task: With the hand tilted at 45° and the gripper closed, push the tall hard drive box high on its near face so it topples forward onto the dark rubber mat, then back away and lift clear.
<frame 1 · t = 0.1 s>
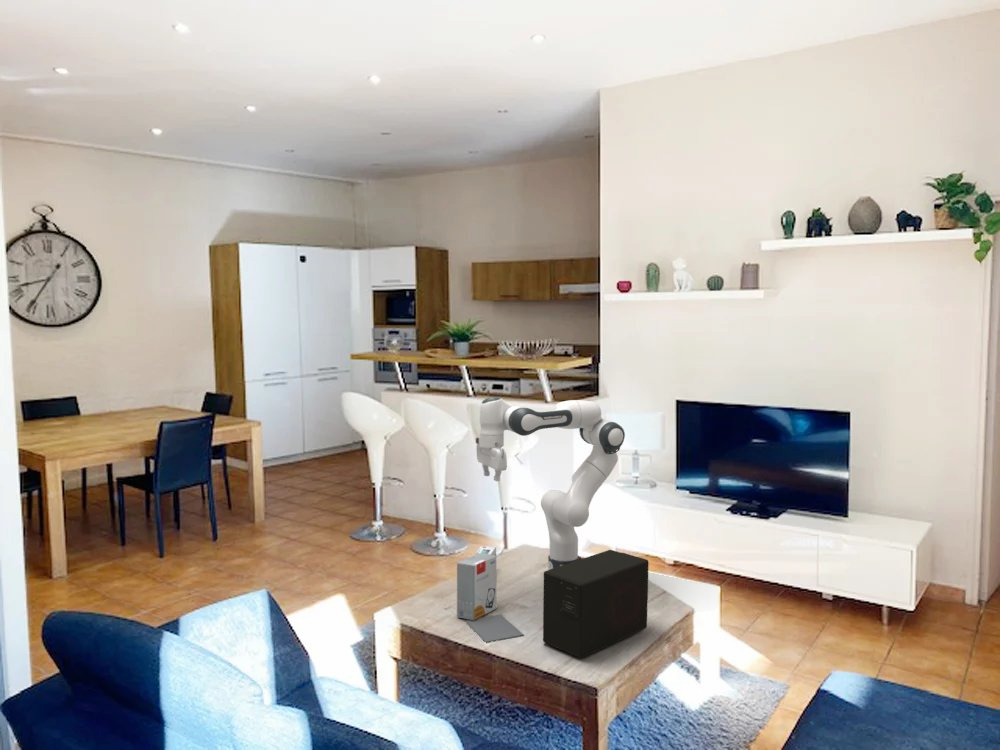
hand: (491, 478, 285), 48 cm above the table, tool pointing down, fingers open, 8 cm apart
hard drive box: (477, 613, 280), on the table, touching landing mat
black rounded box: (594, 636, 262), on the table
light bulb box: (486, 575, 320), on the table
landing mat: (493, 628, 267), on the table
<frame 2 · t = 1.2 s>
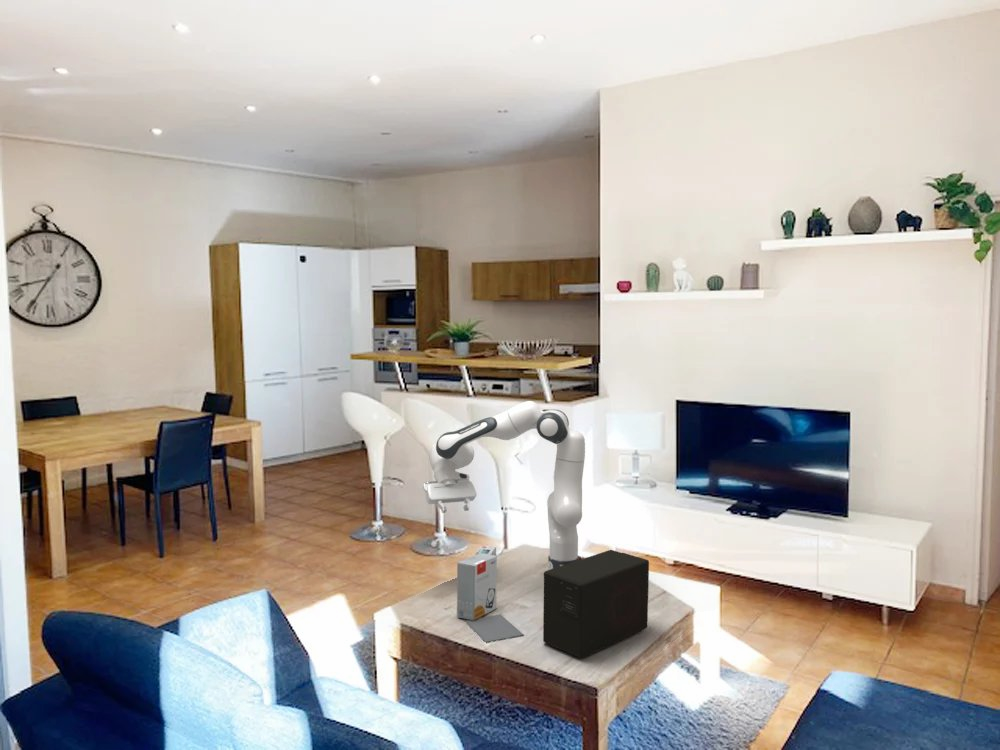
hand: (455, 511, 296), 33 cm above the table, tool tilted 45°, fingers open, 8 cm apart
nothing on the table moved.
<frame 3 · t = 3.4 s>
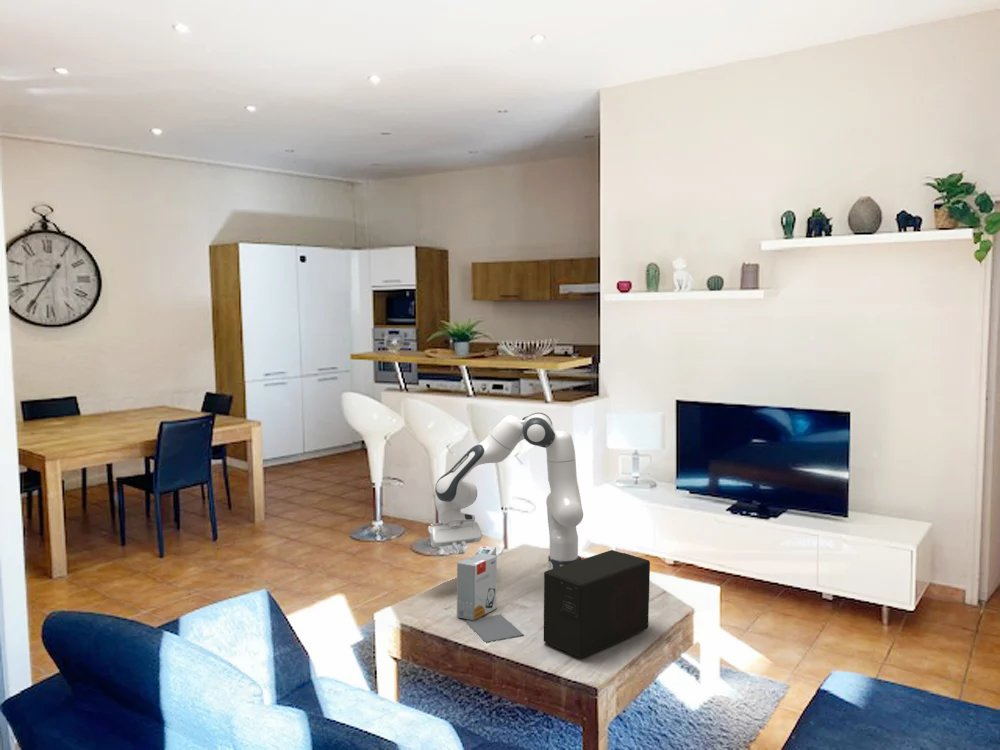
hand: (461, 553, 293), 18 cm above the table, tool tilted 45°, fingers closed
nothing on the table moved.
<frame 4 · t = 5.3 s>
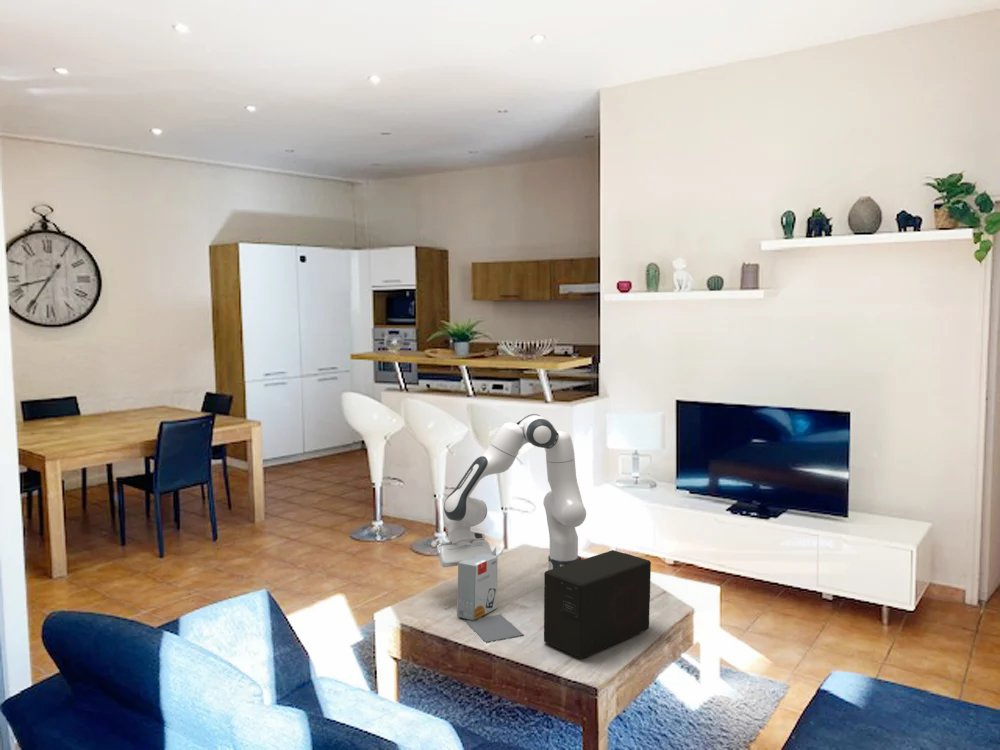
hand: (470, 574, 284), 13 cm above the table, tool tilted 45°, fingers closed
hard drive box: (477, 613, 280), on the table, touching gripper, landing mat
everything else where it was.
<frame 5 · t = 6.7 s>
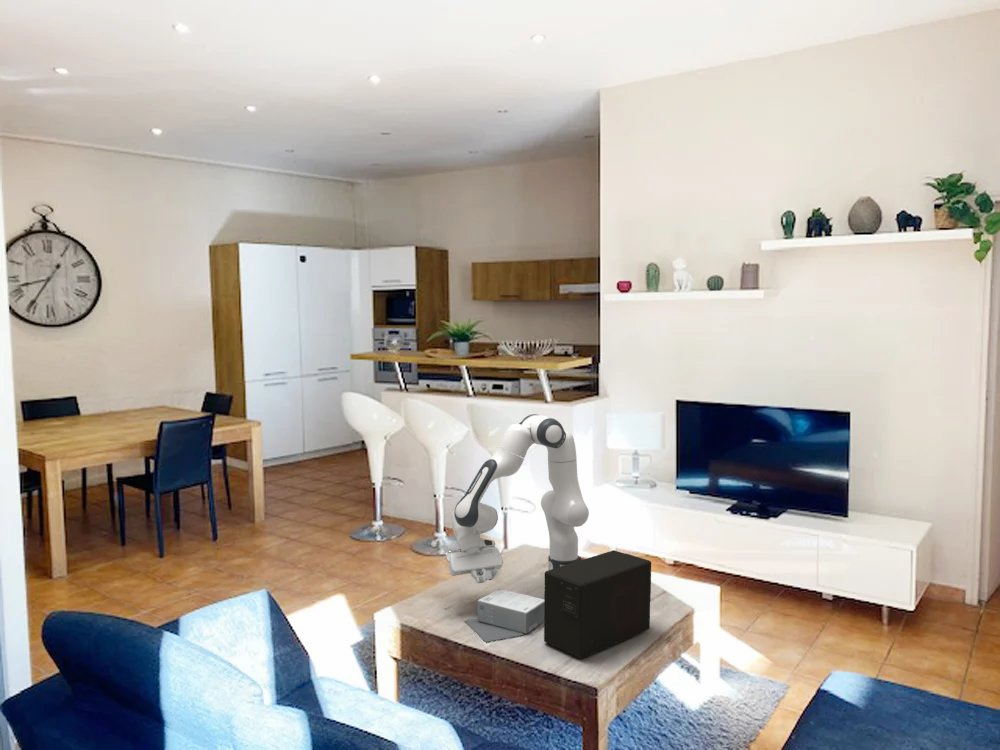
hand: (481, 582, 275), 13 cm above the table, tool tilted 45°, fingers closed
hard drive box: (487, 604, 278), point 4 cm above the table, touching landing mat
everything else where it was.
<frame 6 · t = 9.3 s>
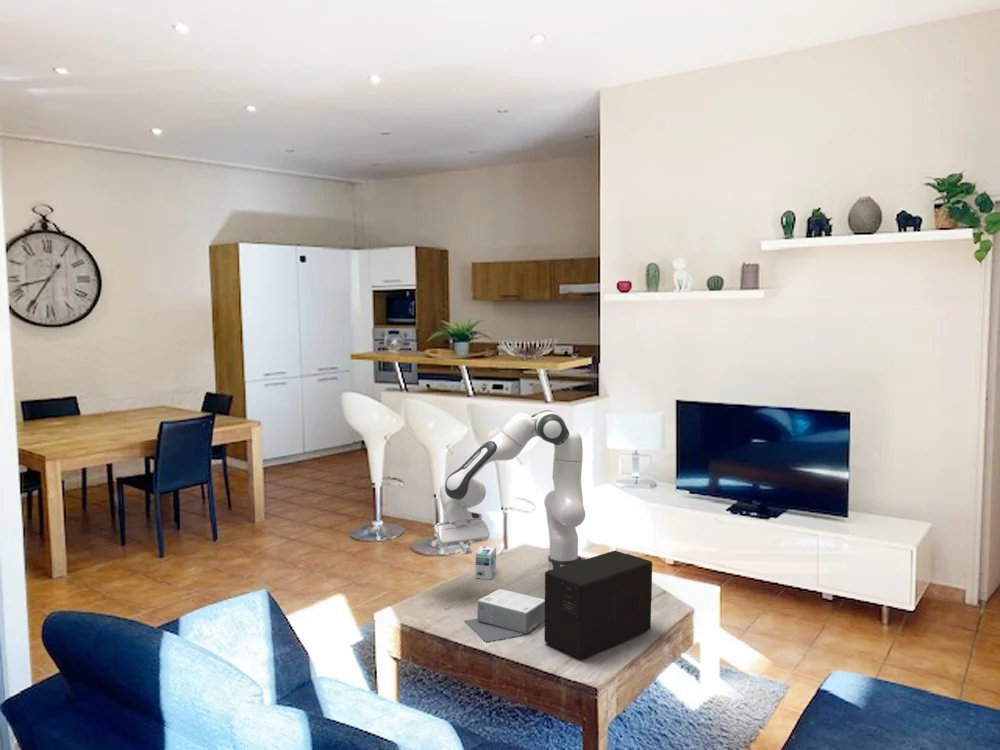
hand: (468, 553, 286), 20 cm above the table, tool tilted 45°, fingers closed
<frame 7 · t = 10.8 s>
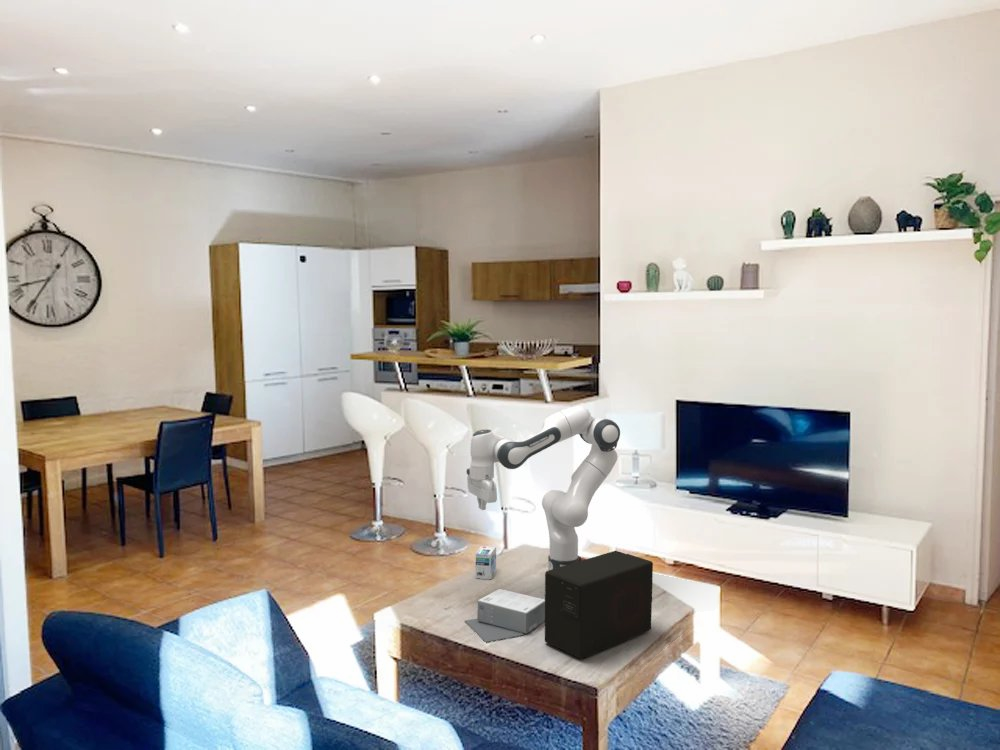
hand: (482, 509, 291), 35 cm above the table, tool pointing down, fingers closed
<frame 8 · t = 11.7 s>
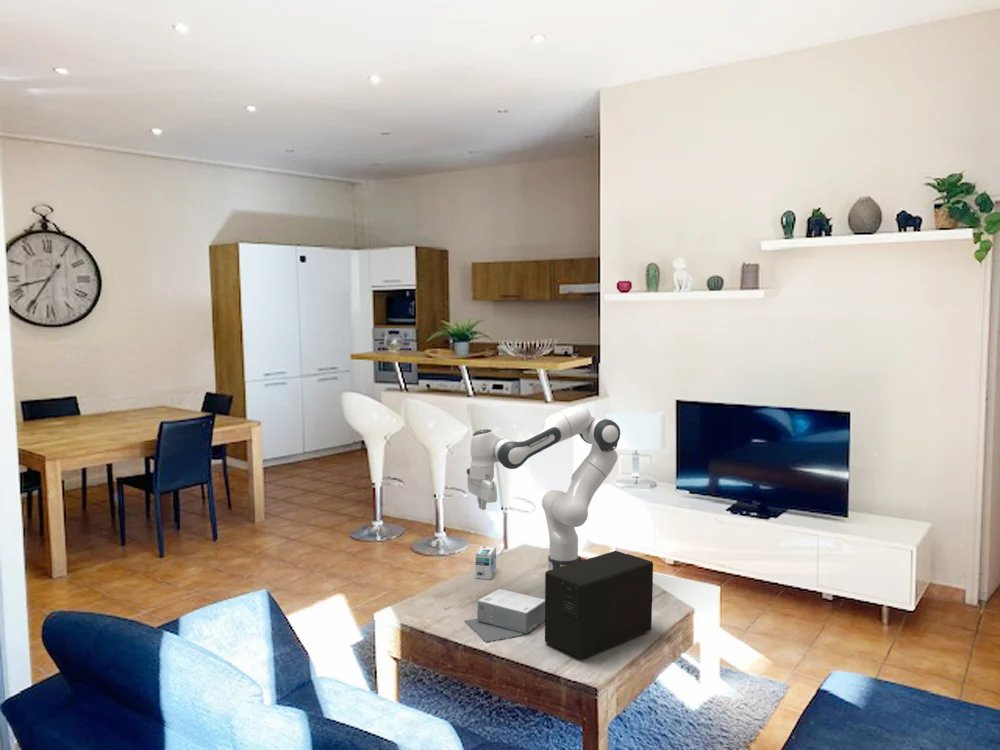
hand: (482, 508, 291), 35 cm above the table, tool pointing down, fingers closed
at the end: hard drive box tilted 91°; hard drive box touching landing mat, table; hard drive box inside the target area (7.8 cm from its centre), point 4.3 cm above the table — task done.
